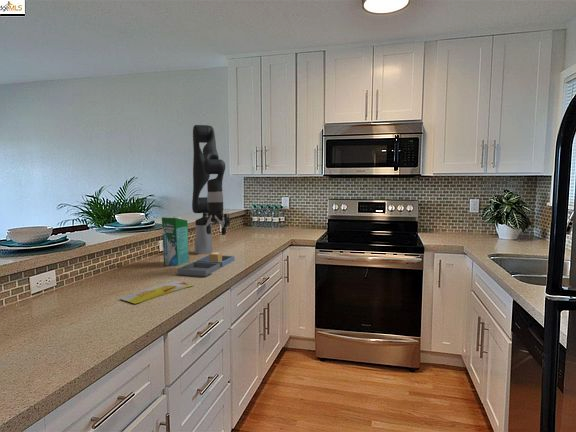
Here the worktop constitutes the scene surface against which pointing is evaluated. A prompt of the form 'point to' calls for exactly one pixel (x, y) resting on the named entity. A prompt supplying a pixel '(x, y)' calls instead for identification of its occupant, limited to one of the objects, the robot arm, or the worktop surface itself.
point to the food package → (155, 292)
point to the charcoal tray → (198, 269)
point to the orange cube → (215, 257)
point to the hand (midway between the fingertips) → (216, 234)
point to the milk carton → (175, 241)
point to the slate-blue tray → (224, 262)
